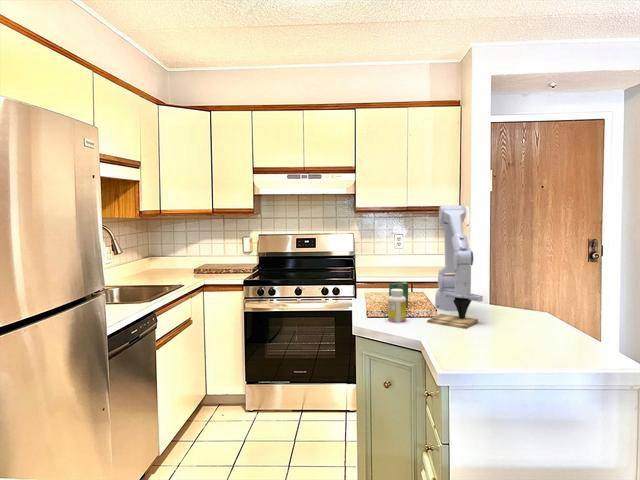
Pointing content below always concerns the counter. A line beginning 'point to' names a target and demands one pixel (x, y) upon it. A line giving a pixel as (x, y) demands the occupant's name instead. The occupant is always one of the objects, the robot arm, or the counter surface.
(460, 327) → the strip
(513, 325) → the counter surface
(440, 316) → the plank
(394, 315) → the supplement bottle
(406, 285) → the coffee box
